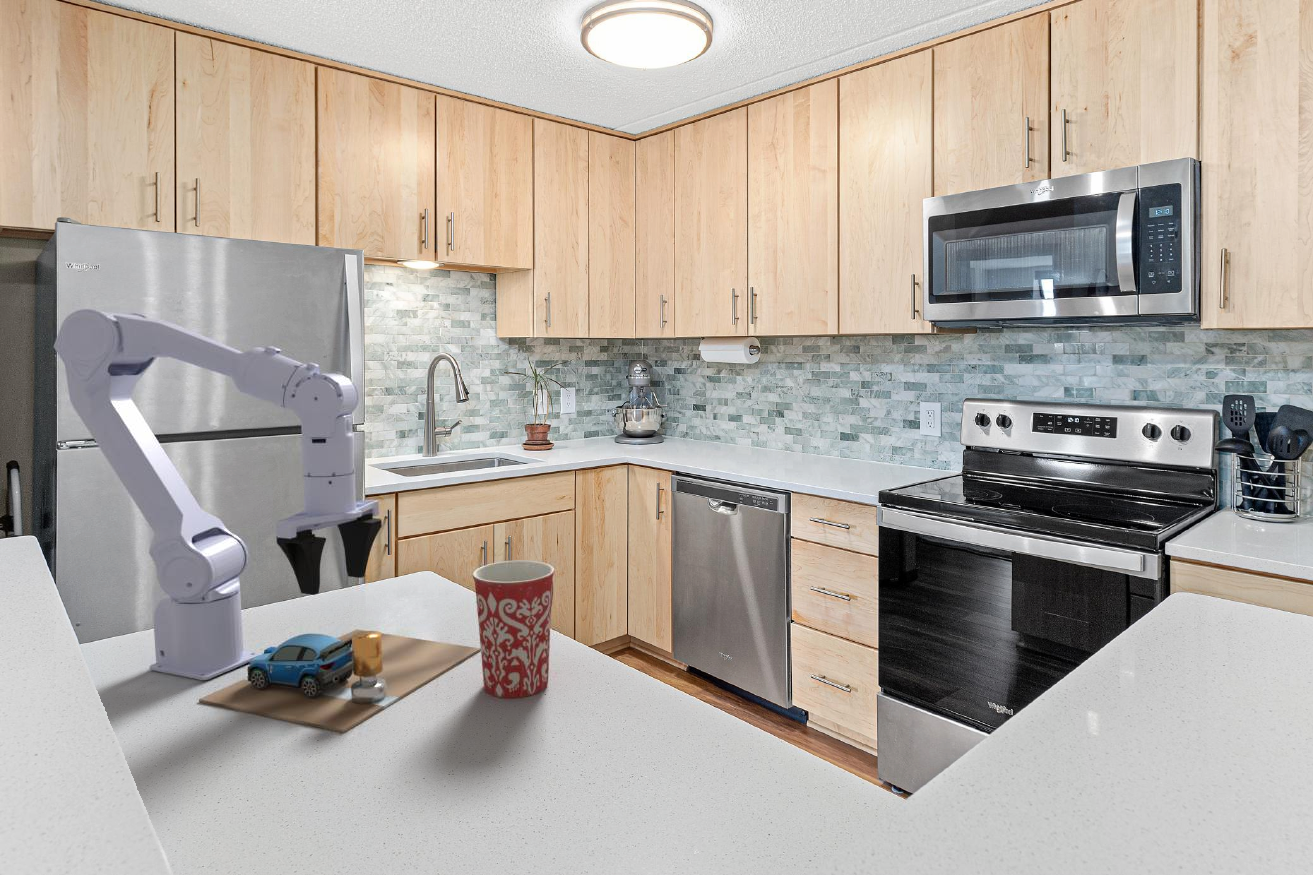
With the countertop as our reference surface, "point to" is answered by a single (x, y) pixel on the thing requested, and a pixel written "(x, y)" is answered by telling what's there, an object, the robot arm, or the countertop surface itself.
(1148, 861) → the countertop surface
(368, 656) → the coffee tamper
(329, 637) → the toy car
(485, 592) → the mug
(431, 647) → the board
